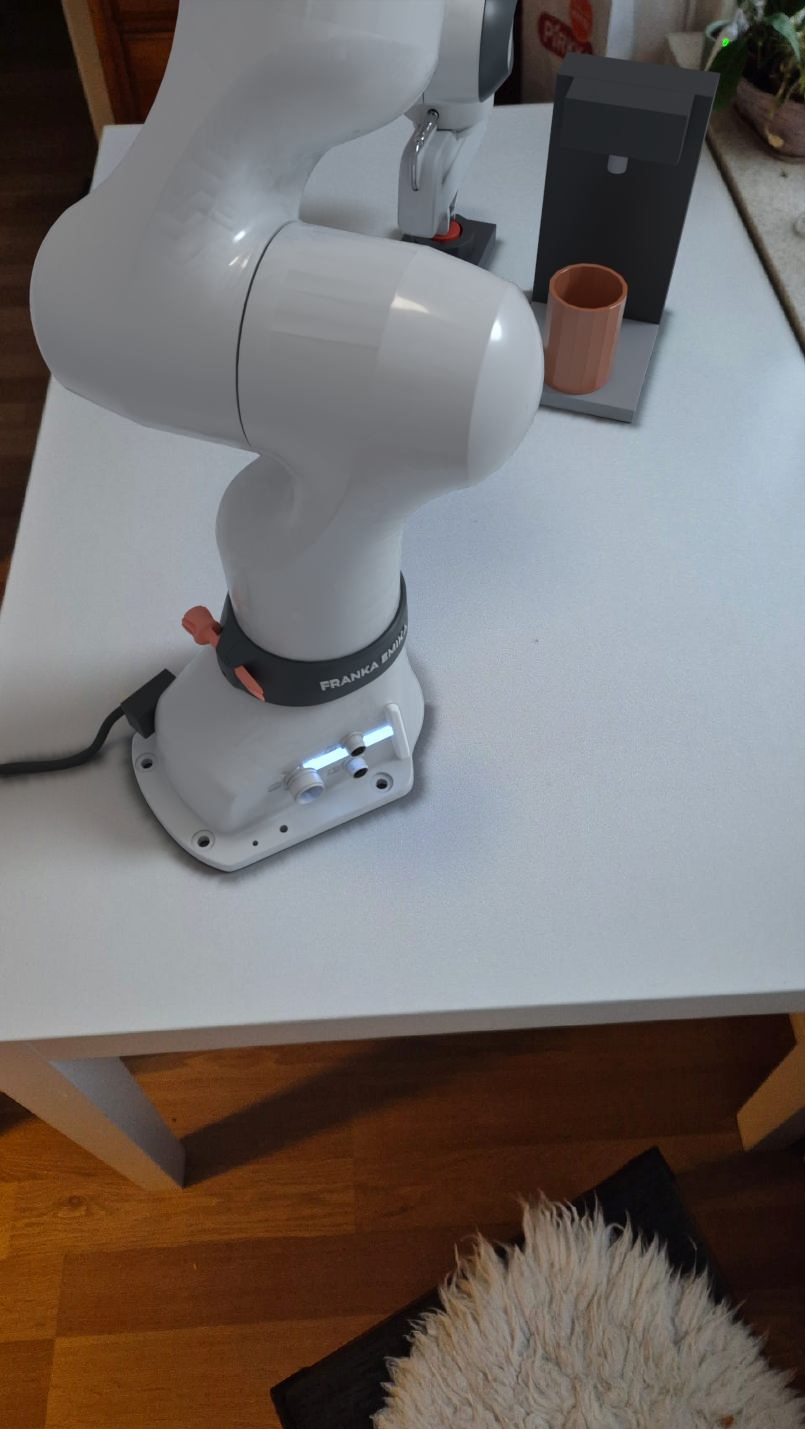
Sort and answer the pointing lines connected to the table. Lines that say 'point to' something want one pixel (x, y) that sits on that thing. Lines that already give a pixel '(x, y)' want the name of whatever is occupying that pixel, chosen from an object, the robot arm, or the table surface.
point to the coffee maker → (620, 199)
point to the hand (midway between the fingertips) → (443, 227)
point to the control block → (465, 241)
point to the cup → (582, 327)
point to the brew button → (448, 234)
